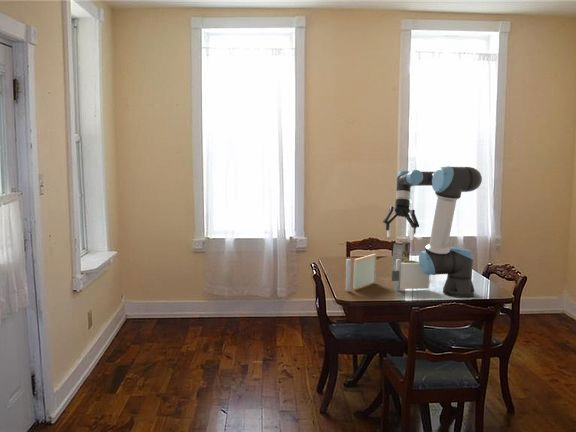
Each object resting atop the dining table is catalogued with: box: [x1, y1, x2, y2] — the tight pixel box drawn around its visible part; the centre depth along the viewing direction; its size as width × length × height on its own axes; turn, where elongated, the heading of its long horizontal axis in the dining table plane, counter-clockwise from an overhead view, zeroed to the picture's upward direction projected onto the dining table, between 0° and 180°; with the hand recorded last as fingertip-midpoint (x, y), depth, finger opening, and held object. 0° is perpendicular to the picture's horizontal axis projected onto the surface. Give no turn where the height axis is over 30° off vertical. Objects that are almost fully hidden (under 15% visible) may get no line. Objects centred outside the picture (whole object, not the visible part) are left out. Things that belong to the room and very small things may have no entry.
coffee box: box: [391, 240, 411, 271], centre depth 338 cm, size 9×6×16 cm
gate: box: [352, 253, 377, 290], centre depth 296 cm, size 20×2×15 cm, turn 142°
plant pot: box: [402, 259, 419, 263], centre depth 319 cm, size 9×9×9 cm
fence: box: [344, 258, 430, 292], centre depth 289 cm, size 3×43×16 cm, turn 97°
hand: (400, 238), depth 308 cm, fingers open, 13 cm apart
